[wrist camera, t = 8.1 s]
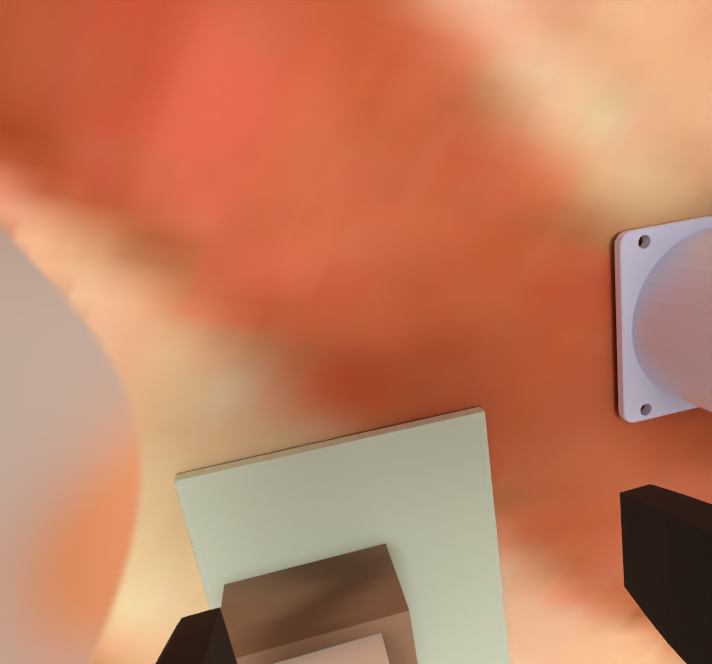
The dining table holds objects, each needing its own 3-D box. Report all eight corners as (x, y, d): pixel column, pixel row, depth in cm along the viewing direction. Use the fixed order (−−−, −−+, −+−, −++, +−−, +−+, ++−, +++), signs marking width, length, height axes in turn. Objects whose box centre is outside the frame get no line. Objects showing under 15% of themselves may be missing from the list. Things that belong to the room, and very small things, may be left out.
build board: (479, 406, 19) (484, 411, 19) (510, 709, 23) (515, 719, 23) (176, 474, 18) (174, 481, 17) (263, 786, 22) (263, 799, 21)
